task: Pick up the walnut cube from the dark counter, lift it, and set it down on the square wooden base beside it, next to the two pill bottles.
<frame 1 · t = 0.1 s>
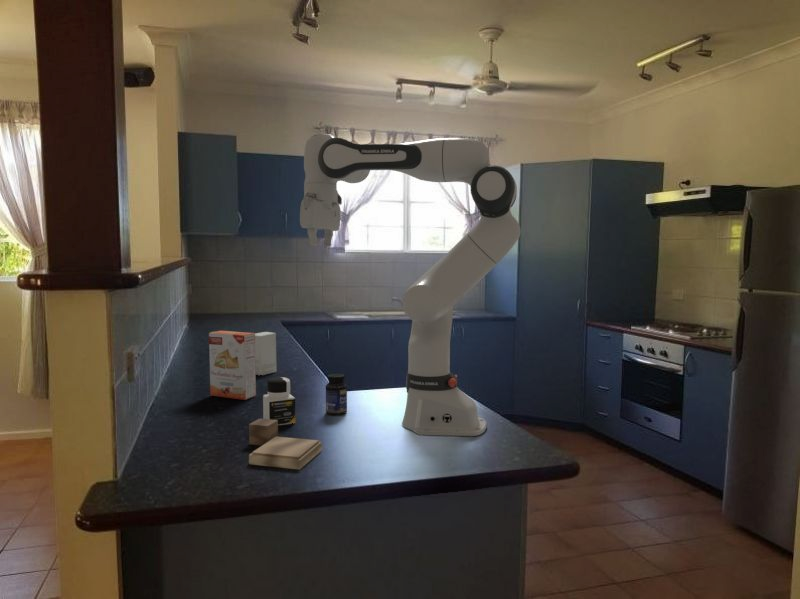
hand: (320, 246, 152), 48 cm above the counter, tool pointing down, fingers open, 8 cm apart
skincare box: (263, 373, 213), on the counter
medicine bottle: (279, 422, 151), on the counter
cube: (263, 442, 134), on the counter
pill bottle: (336, 413, 159), on the counter
cracker box: (233, 397, 178), on the counter
square wooden base: (286, 457, 124), on the counter
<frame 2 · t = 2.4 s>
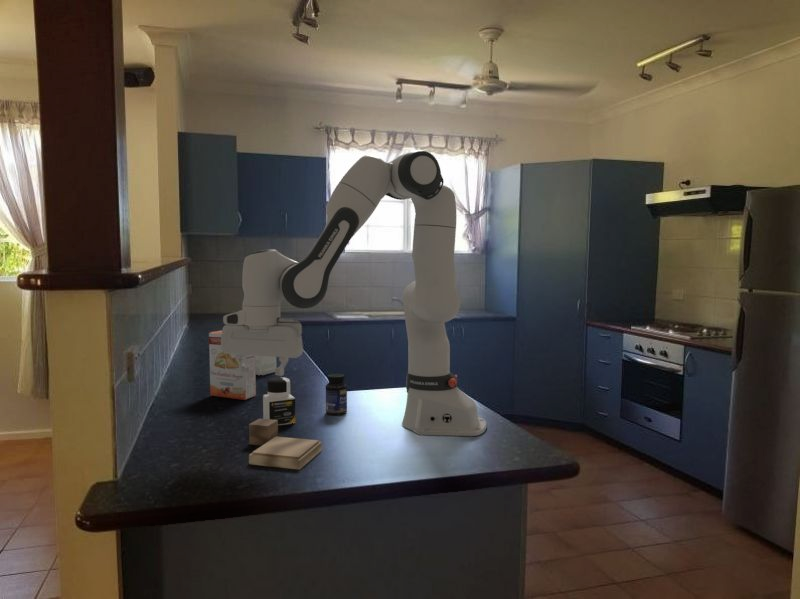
hand: (261, 374, 133), 17 cm above the counter, tool pointing down, fingers open, 8 cm apart
nothing on the counter moved.
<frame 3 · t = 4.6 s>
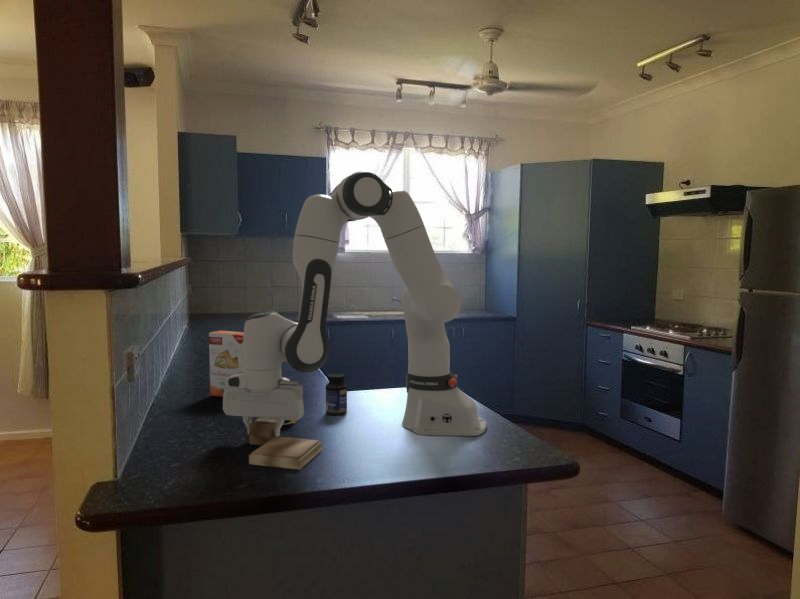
hand: (263, 434, 134), 2 cm above the counter, tool pointing down, fingers closed on cube, 5 cm apart
cube: (263, 441, 134), on the counter, touching gripper
everything else where it was.
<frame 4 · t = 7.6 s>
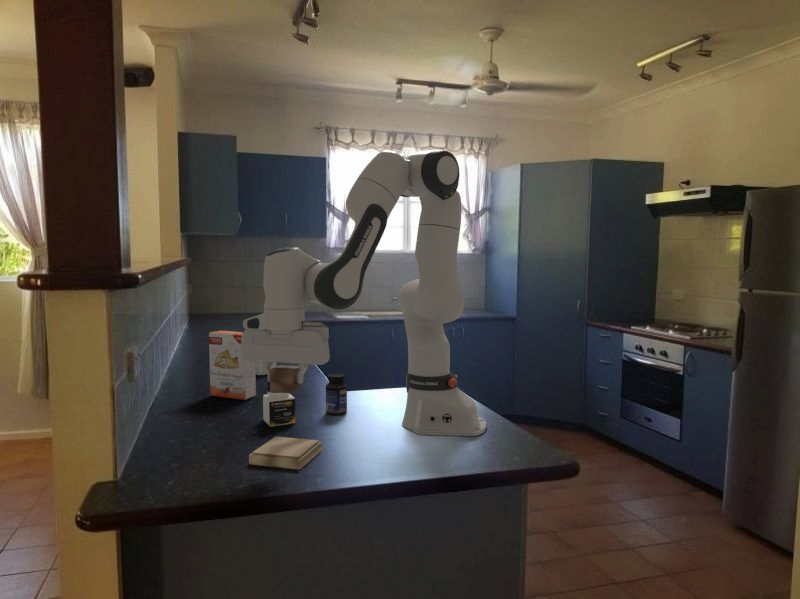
hand: (285, 382, 123), 17 cm above the counter, tool pointing down, fingers closed on cube, 5 cm apart
cube: (285, 389, 123), point 15 cm above the counter, touching gripper
everything else where it was.
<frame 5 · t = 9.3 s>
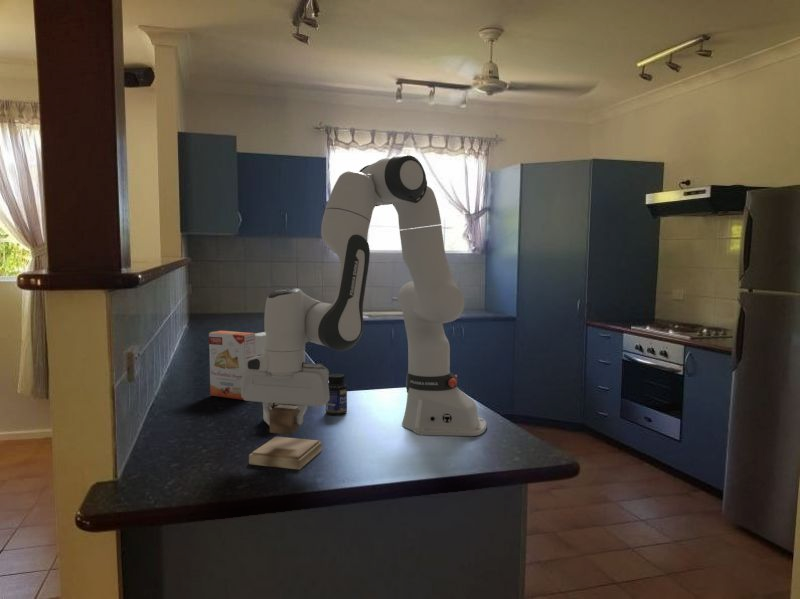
hand: (285, 422, 123), 8 cm above the counter, tool pointing down, fingers closed on cube, 5 cm apart
cube: (285, 430, 123), point 6 cm above the counter, touching gripper
everything else where it was.
when the fingers open (5 cm above the counter, at t = 10.7 s): cube stays where it is, resting on square wooden base.
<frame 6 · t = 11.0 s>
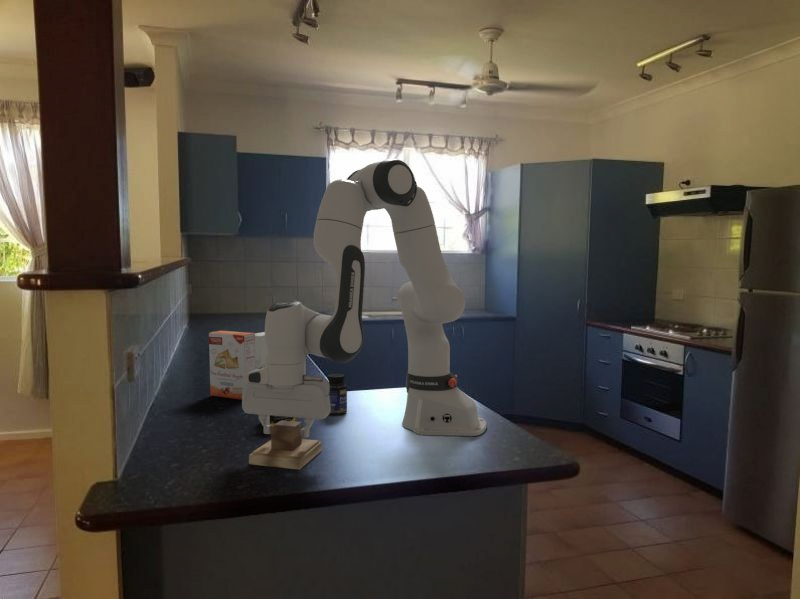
hand: (286, 434, 124), 5 cm above the counter, tool pointing down, fingers open, 8 cm apart
cube: (286, 446, 124), point 2 cm above the counter, touching square wooden base
everything else where it was.
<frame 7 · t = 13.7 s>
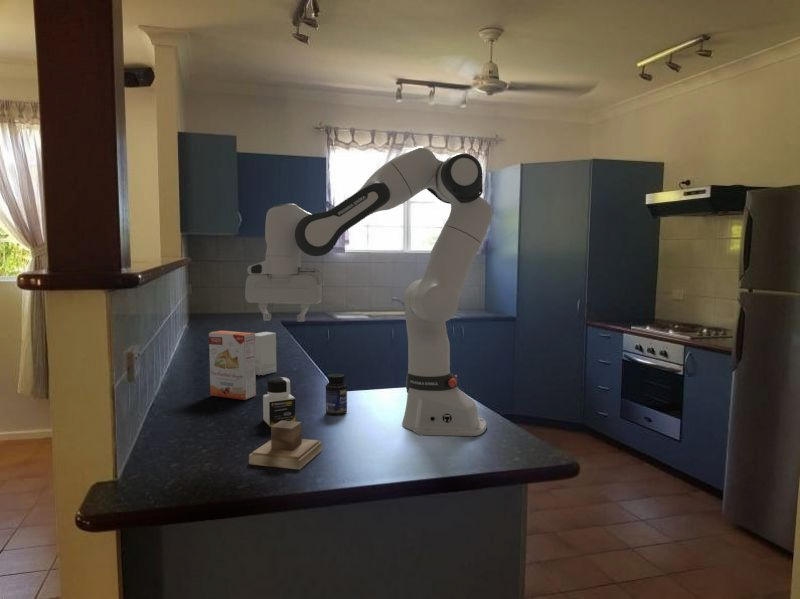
hand: (284, 320, 143), 28 cm above the counter, tool pointing down, fingers open, 8 cm apart
nothing on the counter moved.
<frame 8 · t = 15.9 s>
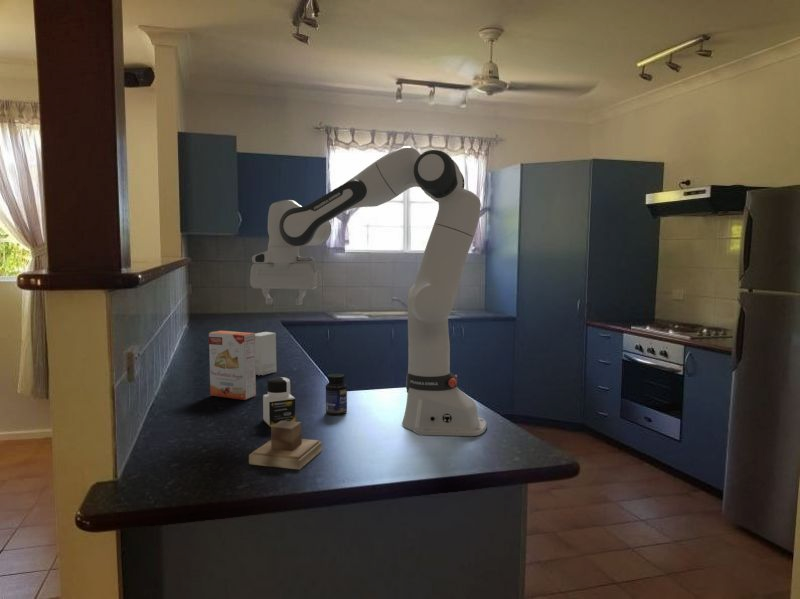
hand: (284, 304, 161), 31 cm above the counter, tool pointing down, fingers open, 8 cm apart
nothing on the counter moved.
at the end: cube inside the target area on the square wooden base (0.0 cm from its centre), point 2.5 cm above the square wooden base's base; the gripper is holding nothing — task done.
